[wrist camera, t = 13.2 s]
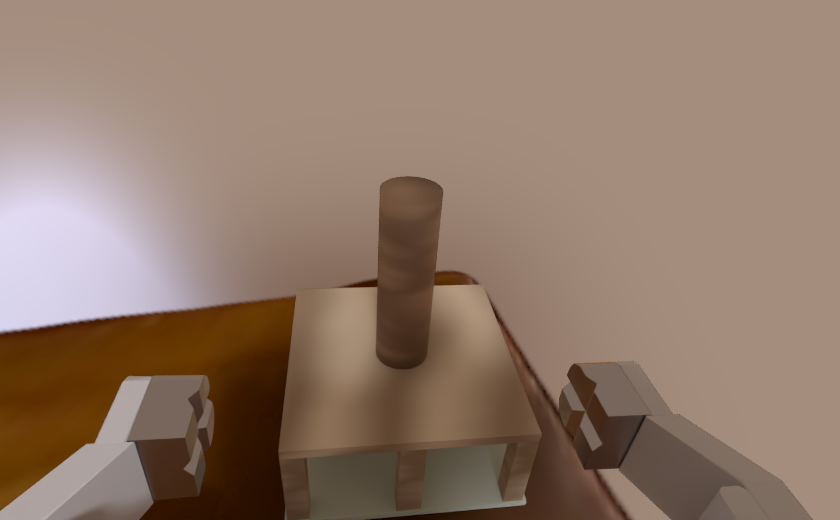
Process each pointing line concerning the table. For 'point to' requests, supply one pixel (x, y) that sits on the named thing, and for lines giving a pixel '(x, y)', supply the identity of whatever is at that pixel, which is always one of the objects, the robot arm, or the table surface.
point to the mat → (375, 483)
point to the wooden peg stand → (402, 365)
